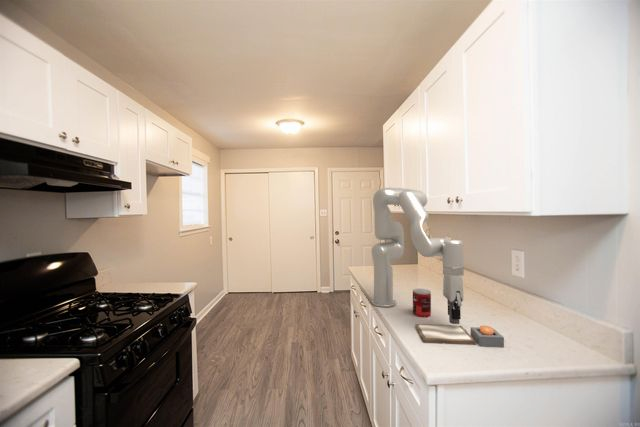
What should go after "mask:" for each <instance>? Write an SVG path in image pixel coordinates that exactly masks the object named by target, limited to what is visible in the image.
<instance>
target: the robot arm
mask: <svg viewBox="0 0 640 427" xmlns="http://www.w3.org/2000/svg"><path fill="white" fill-rule="evenodd" d="M373 194H374V195H373V198H372V206H373V212H374V218H373V220H374V236H375V238H376V239H377V240H378V241H379V240H381V241H382V242H378V243H375V244H374V245H373V246H372V248H371V257H372V261H373V262H372V263H373V298H372V299H371V301H370V303H371V304H372V305H373V306H376V307H380V308H391V307H394V306H396V305H397V302H396V300H395V299H394V287H393V286H394V285H393V284H394V283H393V282H394V281H393V279H394V277H393V276H394V274H393V267H392V264H391V262H390V261H393V260H394V261H395V260H399V259H401V258H402V257H403V256H404V254H405V231H404V228H403V225H402V223H401V222H398V221H396V220H392V212H391V209H390V208H389V205H390V206H391V205H392V206H400V207H401V209H402V211H403V213H404V215H405V216H406V218H407V220H408V221H409V224H410V228H409V233H410V234H409V236H410V239H411V241H412V244H413V246H414V247H415V249H416V251H417V252H418V253H419V254H420V255H421V256H422V257H425V258H433V257H441V256H442V275H443V282H442V295H443V297H444V298H445V299H447V315H448V316H449V301H450V302H452V309H451V317H452V319H459V321H460V320H461V317H462V316H461V310H462V308H461V307H462V306H463V302H464V281H463V277H464V276H465V267H464V266H465V265H464V264H465V263H464V261H465V260H464V243H463V241H462V240H459V239H447V238H445V237H444V238H443V237H433V238H432V237H431V238H428V236H427V235H426V233H425V231H424V229H423V224H424V223H425V222H427V221H428V219H429V216H430V215H429V213H428V212H427V210H426V209H425V207H426V206H427V204H428V197H427V195H426V193H424V192H423V191H422V190H416V189H410V188H404V187H402V188H401V187H384V188H383V187H382V188H378V190H376V192H374V193H373ZM387 240H388V241H387ZM383 241H384V242H383ZM454 300H457V301H454ZM454 303H456V304H455V305H454Z"/></svg>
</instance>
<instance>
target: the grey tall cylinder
mask: <svg viewBox="0 0 640 427" xmlns="http://www.w3.org/2000/svg"><path fill="white" fill-rule="evenodd" d="M454 301H457V300H454ZM455 304H456V303H454V305H455ZM451 309H452V302H450V301H449V315H448V316H449V318H448V319H449V321H448V322H449V323H450V324H451V325H459V324H460V320H459V319H452V317H451Z"/></svg>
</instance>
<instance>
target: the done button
mask: <svg viewBox="0 0 640 427" xmlns="http://www.w3.org/2000/svg"><path fill="white" fill-rule="evenodd" d="M479 328H480V333H481V334H482V335H494V329H495V328H494V327H491V326H488V325H479Z"/></svg>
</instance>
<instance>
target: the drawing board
mask: <svg viewBox="0 0 640 427" xmlns="http://www.w3.org/2000/svg"><path fill="white" fill-rule="evenodd" d="M414 326H415V329H416V330H417V333H418V334H419V337H420V339H421V340H422V342H423V343H424V344H425V343H427V344H443V343H445V345H447V344H448V345H450V344H452V345H468V346H469V345H471V346H472V345H473V346H476V344H477V343H476V341H475V340H474V339H473V338H472V337H471V334H469V333H468V331H466V329H465V328H464V327H463V326H462V325H456V324H451V325H450V324H448V325H447V324H426V323H424V324H423V323H422V324H421V323H418V324H417V323H416V324H415V325H414Z"/></svg>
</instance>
